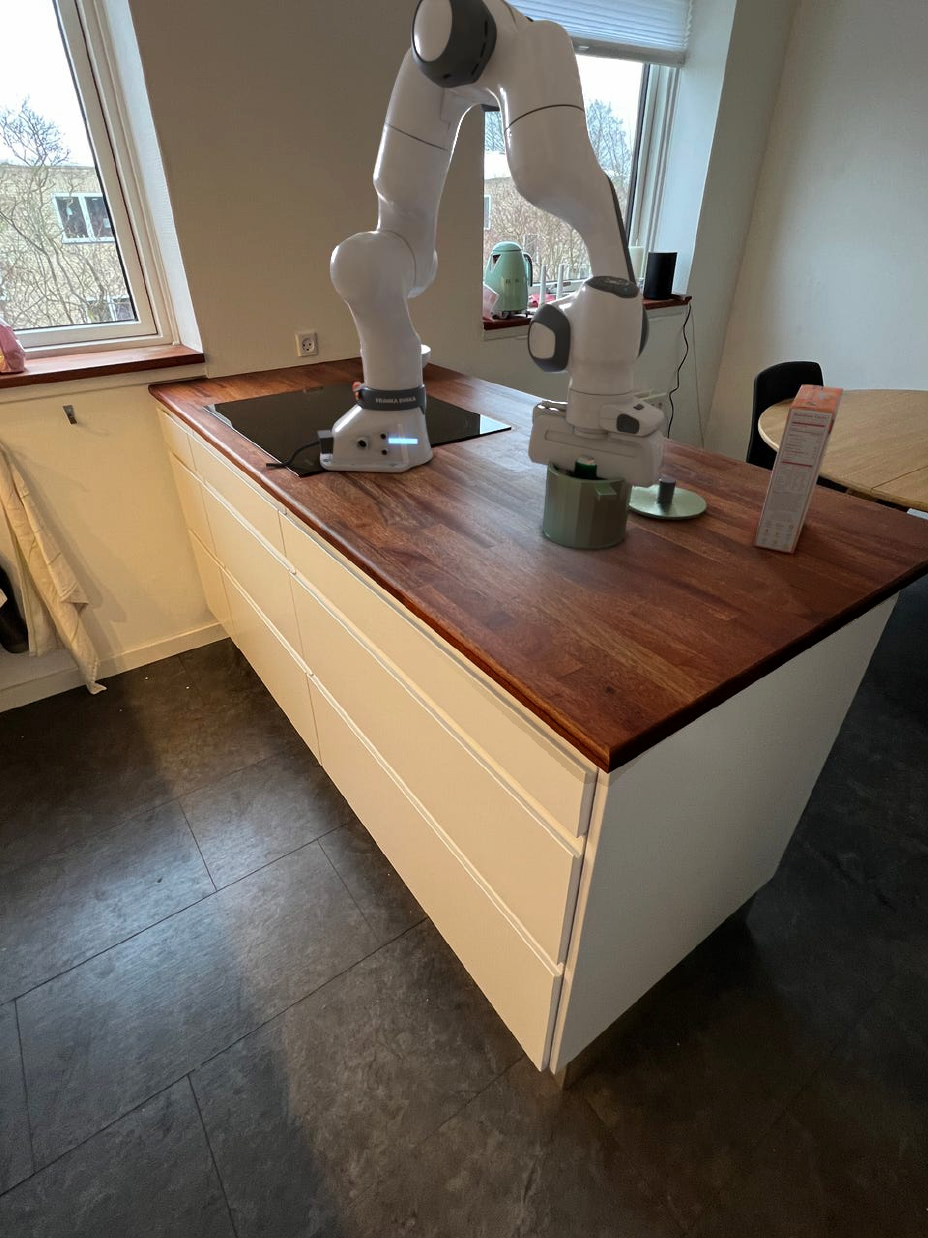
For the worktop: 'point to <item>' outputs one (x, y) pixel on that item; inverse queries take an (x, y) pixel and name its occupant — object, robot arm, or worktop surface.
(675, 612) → the worktop surface
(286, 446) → the worktop surface
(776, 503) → the cracker box
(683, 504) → the lid
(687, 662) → the worktop surface
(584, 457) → the soda can
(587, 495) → the pot
